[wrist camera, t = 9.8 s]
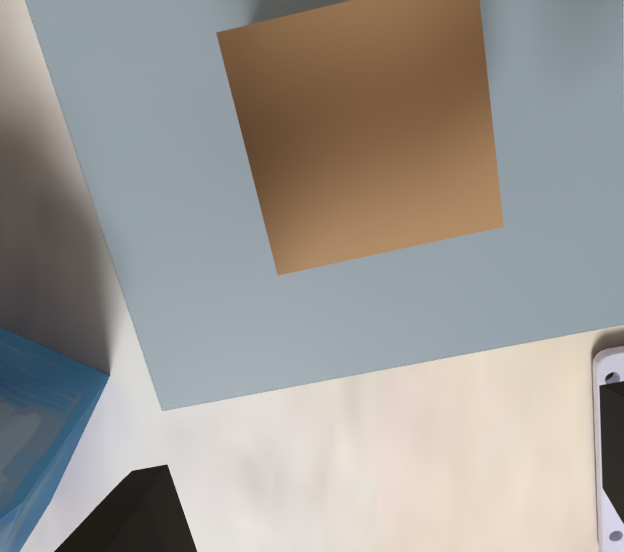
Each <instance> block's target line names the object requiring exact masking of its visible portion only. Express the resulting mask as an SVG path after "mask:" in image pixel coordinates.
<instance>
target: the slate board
mask: <svg viewBox="0 0 624 552" xmlns="http://www.w3.org/2000/svg"><path fill="white" fill-rule="evenodd" d="M346 1H350V0H25V2H26V5H27V8H28V11H29V14H30V17H31V20H32V23H33V26H34V29H35V32H36V35H37V38H38V41H39V44H40V47H41V50H42V53H43V56H44V59H45V62H46V65H47V68H48V71H49V74H50V77H51V80H52V83H53V86H54V89H55V92H56V95H57V98H58V101H59V104H60V107H61V110H62V113H63V116H64V119H65V122H66V125H67V128H68V131H69V134H70V137H71V140H72V143H73V146H74V149H75V152H76V155H77V158H78V161H79V164H80V167H81V170H82V173H83V176H84V179H85V182H86V185H87V188H88V191H89V193H90V196H91V199H92V202H93V205H94V208H95V211H96V214H97V217H98V220H99V223H100V226H101V229H102V232H103V235H104V238H105V241H106V244H107V247H108V250H109V253H110V256H111V259H112V262H113V265H114V268H115V271H116V274H117V277H118V280H119V283H120V286H121V289H122V292H123V295H124V298H125V301H126V304H127V307H128V310H129V313H130V316H131V319H132V322H133V325H134V328H135V331H136V334H137V337H138V340H139V343H140V346H141V349H142V352H143V355H144V358H145V361H146V364H147V367H148V370H149V373H150V376H151V379H152V382H153V385H154V388H155V391H156V394H157V397H158V400H159V403H160V406H161V409H162V411H166V410H171V409H177V408H182V407H187V406H193V405H198V404H203V403H209V402H214V401H219V400H225V399H230V398H235V397H241V396H246V395H251V394H257V393H262V392H267V391H273V390H278V389H283V388H289V387H294V386H299V385H305V384H310V383H315V382H321V381H326V380H331V379H337V378H342V377H347V376H353V375H358V374H363V373H369V372H374V371H379V370H385V369H390V368H395V367H401V366H406V365H411V364H417V363H422V362H427V361H433V360H438V359H443V358H449V357H454V356H459V355H465V354H470V353H475V352H481V351H486V350H491V349H497V348H502V347H507V346H513V345H518V344H523V343H529V342H534V341H539V340H545V339H550V338H555V337H561V336H566V335H571V334H577V333H582V332H587V331H593V330H598V329H603V328H609V327H614V326H619V325H624V59H623V0H480V9H481V19H482V28H483V37H484V47H485V56H486V65H487V75H488V84H489V93H490V103H491V112H492V121H493V131H494V140H495V149H496V159H497V168H498V177H499V187H500V196H501V205H502V215H503V224H504V227H501V228H496V229H492V230H487V231H482V232H478V233H473V234H468V235H464V236H459V237H455V238H450V239H445V240H441V241H436V242H431V243H427V244H422V245H417V246H413V247H408V248H404V249H399V250H394V251H390V252H385V253H380V254H376V255H371V256H367V257H362V258H357V259H353V260H348V261H343V262H339V263H334V264H330V265H325V266H320V267H316V268H311V269H306V270H302V271H297V272H293V273H288V274H283V275H279V276H278V275H277V271H276V267H275V263H274V259H273V255H272V251H271V247H270V243H269V239H268V235H267V232H266V228H265V224H264V220H263V216H262V212H261V208H260V204H259V200H258V196H257V192H256V188H255V184H254V180H253V176H252V172H251V168H250V165H249V161H248V157H247V153H246V149H245V145H244V141H243V137H242V133H241V129H240V125H239V121H238V117H237V113H236V109H235V105H234V101H233V98H232V94H231V90H230V86H229V82H228V78H227V74H226V70H225V66H224V62H223V58H222V54H221V50H220V46H219V42H218V38H217V34H216V33H217V32H221V31H225V30H229V29H233V28H238V27H242V26H246V25H250V24H254V23H258V22H263V21H267V20H271V19H275V18H279V17H283V16H288V15H292V14H296V13H300V12H304V11H308V10H313V9H317V8H321V7H325V6H329V5H333V4H338V3H342V2H346Z"/></svg>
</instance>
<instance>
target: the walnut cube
mask: <svg viewBox="0 0 624 552" xmlns="http://www.w3.org/2000/svg"><path fill="white" fill-rule="evenodd" d="M216 34H217V38H218V42H219V46H220V50H221V54H222V58H223V62H224V66H225V70H226V74H227V78H228V82H229V86H230V90H231V94H232V98H233V101H234V105H235V109H236V113H237V117H238V121H239V125H240V129H241V133H242V137H243V141H244V145H245V149H246V153H247V157H248V161H249V165H250V168H251V172H252V176H253V180H254V184H255V188H256V192H257V196H258V200H259V204H260V208H261V212H262V216H263V220H264V224H265V228H266V232H267V235H268V239H269V243H270V247H271V251H272V255H273V259H274V263H275V267H276V271H277V275H278V276H279V275H283V274H288V273H293V272H297V271H302V270H306V269H311V268H316V267H320V266H325V265H330V264H334V263H339V262H343V261H348V260H353V259H357V258H362V257H367V256H371V255H376V254H380V253H385V252H390V251H394V250H399V249H404V248H408V247H413V246H417V245H422V244H427V243H431V242H436V241H441V240H445V239H450V238H455V237H459V236H464V235H468V234H473V233H478V232H482V231H487V230H492V229H496V228H501V227H504V224H503V215H502V205H501V196H500V187H499V177H498V168H497V159H496V149H495V140H494V131H493V121H492V112H491V103H490V93H489V84H488V75H487V65H486V56H485V47H484V37H483V28H482V19H481V9H480V0H350V1H346V2H342V3H338V4H333V5H329V6H325V7H321V8H317V9H313V10H308V11H304V12H300V13H296V14H292V15H288V16H283V17H279V18H275V19H271V20H267V21H263V22H258V23H254V24H250V25H246V26H242V27H238V28H233V29H229V30H225V31H221V32H217V33H216Z"/></svg>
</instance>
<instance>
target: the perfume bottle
mask: <svg viewBox="0 0 624 552" xmlns="http://www.w3.org/2000/svg"><path fill="white" fill-rule="evenodd" d="M109 377H110V375H108V374H106V373H104V372H102V371H99V370H97V369H95V368H92V367H90V366H88V365H86V364H83V363H81V362H79V361H76V360H74V359H72V358H70V357H67V356H65V355H63V354H61V353H58V352H56V351H54V350H51V349H49V348H47V347H45V346H42V345H40V344H38V343H35V342H33V341H31V340H29V339H26V338H24V337H22V336H20V335H17V334H15V333H13V332H10V331H8V330H6V329H4V328H1V327H0V552H20V550H21V548H22V547H23V545H24V544H25V542H26V540H27V539H28V537H29V536H30V534H31V532H32V531H33V529H34V527H35V526H36V524H37V523H38V521H39V519H40V518H41V516H42V515H43V513H44V511H45V510H46V508H47V506H48V505H49V503H50V501H51V499H52V497H53V495H54V493H55V491H56V489H57V486H58V484H59V482H60V480H61V478H62V476H63V474H64V472H65V470H66V467H67V465H68V463H69V461H70V459H71V457H72V455H73V453H74V451H75V448H76V446H77V444H78V442H79V440H80V438H81V436H82V434H83V432H84V429H85V427H86V425H87V423H88V421H89V419H90V417H91V415H92V413H93V410H94V408H95V406H96V404H97V402H98V400H99V398H100V396H101V394H102V391H103V389H104V387H105V385H106V383H107V381H108V379H109Z"/></svg>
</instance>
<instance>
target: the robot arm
mask: <svg viewBox="0 0 624 552" xmlns="http://www.w3.org/2000/svg"><path fill="white" fill-rule="evenodd" d="M592 366H593V395H594V424H595V452H596V481H597V510H598V539H599V552H624V346H619V347H614V348H608V349H605V350H602V351H600V352H599V353H598V354H596V356H595V357H594V359H593V364H592ZM612 372H614V374H613V376H612V377H611V378H610V379H608V380H605V378H606V376H607V375H608V374H609V373H612ZM614 531H615V532H614ZM612 532H613V533H612ZM54 552H197V550H196V547H195V544H194V541H193V538H192V535H191V532H190V529H189V526H188V524H187V521H186V518H185V515H184V512H183V509H182V506H181V503H180V500H179V497H178V494H177V491H176V489H175V486H174V483H173V480H172V477H171V474H170V471H169V468H168V465H162V466H156V467H151V468H145V469H140V470H135V471H132V472H131V473H130V474H128V475H127V476H126V477H125V478H124V479H123V480H122V481H121V482H120V483H119V484H118V485H117V486H116V487H115V488H114V489H113V490H112V491H111V492H110V493H109V494H108V495H107V496H106V498H105V499H104V500H103V501H102V502H101V503H100V504H99V505H98V506H97V507H96V508H95V509H94V510H93V511H92V512H91V513H90V514H89V516H88V517H87V518H86V519H85V520H84V521H83V522H82V523H81V524H80V525H79V526H78V527H77V528H76V529H75V530H74V531H73V533H72V534H71V535H70V536H69V537H68V538H67V539H66V540H65V541H64V542H63V543H62V544H61V545H60V546H59V547H58V548H57V549H56V550H55V551H54Z"/></svg>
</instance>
